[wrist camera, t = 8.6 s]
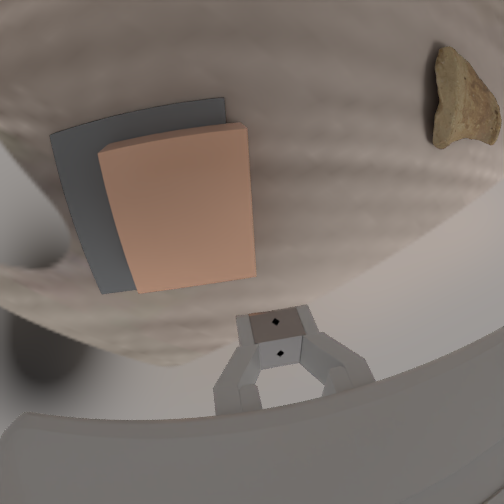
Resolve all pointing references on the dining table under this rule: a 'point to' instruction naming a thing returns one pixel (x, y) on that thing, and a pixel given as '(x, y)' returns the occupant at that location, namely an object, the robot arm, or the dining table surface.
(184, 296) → the dining table surface
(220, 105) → the mat
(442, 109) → the pottery shard
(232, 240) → the tile
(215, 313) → the dining table surface
